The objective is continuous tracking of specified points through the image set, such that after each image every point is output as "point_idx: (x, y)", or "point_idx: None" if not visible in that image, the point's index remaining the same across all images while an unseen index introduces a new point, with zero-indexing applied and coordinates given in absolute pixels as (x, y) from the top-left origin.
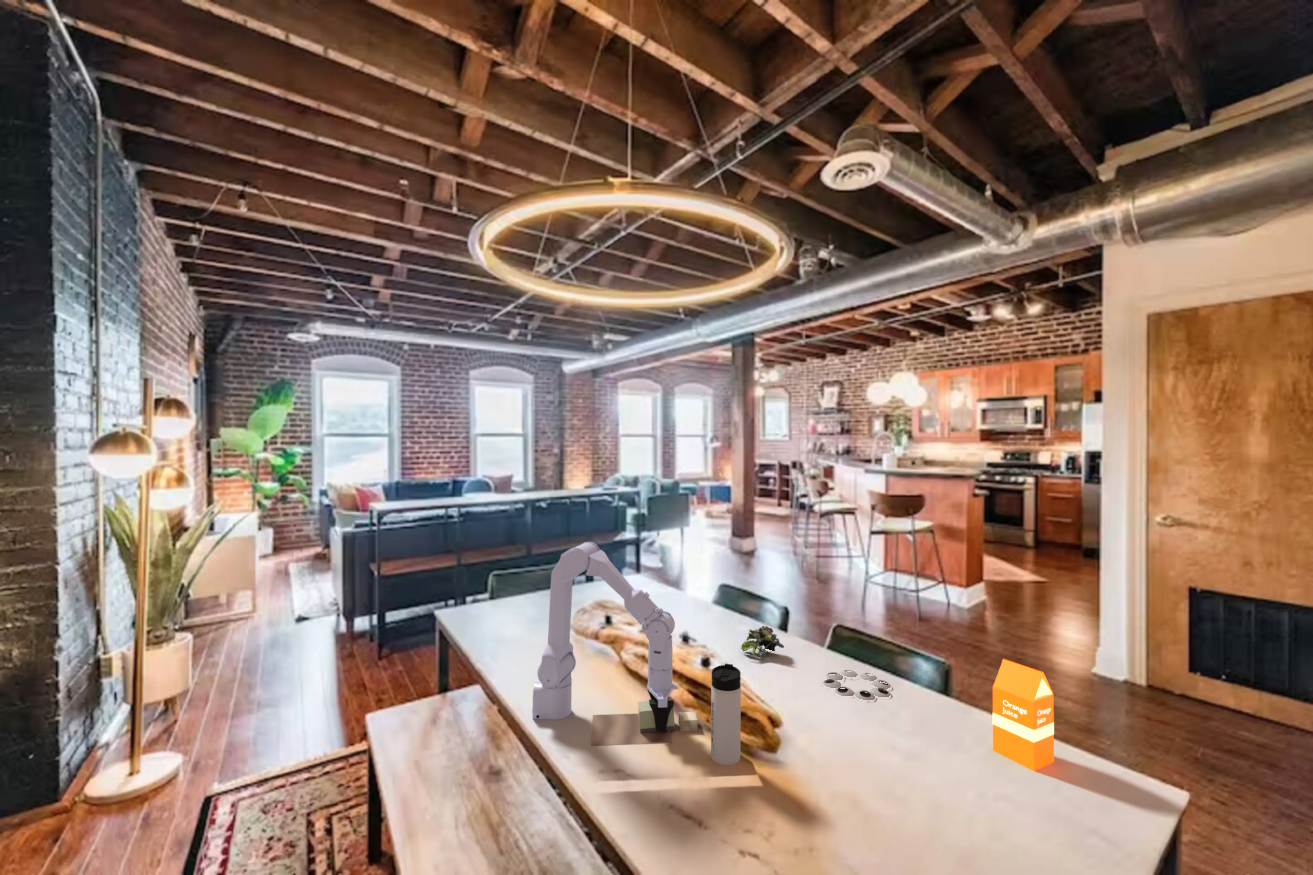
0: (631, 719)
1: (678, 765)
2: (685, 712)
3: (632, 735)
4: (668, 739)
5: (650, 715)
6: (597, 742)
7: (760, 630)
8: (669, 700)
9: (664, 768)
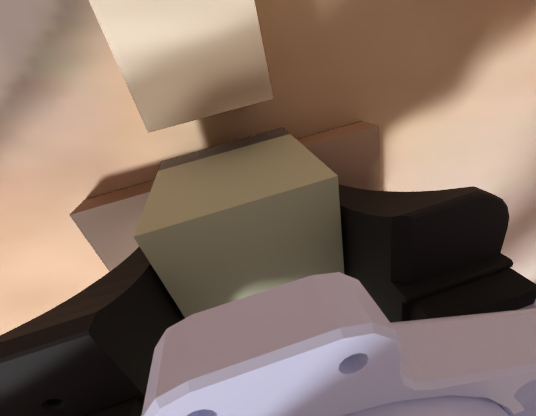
0: None
1: (472, 73)
2: (126, 69)
3: None
4: (350, 146)
5: None
6: None
7: None
8: (415, 252)
9: (477, 128)
